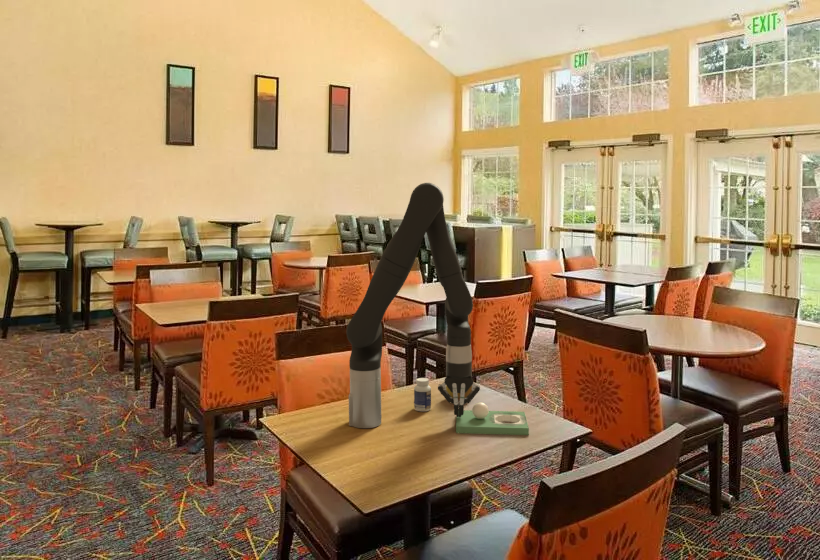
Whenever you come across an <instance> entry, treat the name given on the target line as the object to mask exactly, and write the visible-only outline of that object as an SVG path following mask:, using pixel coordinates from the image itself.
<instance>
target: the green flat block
mask: <svg viewBox="0 0 820 560" xmlns="http://www.w3.org/2000/svg"><path fill="white" fill-rule="evenodd" d="M455 420H456V421H455V422H456V423H455V433H456V434H472V435H473V434H481V435H510V436H511V435H515V436H518V435H519V436H529V433H530V427H529V425H528V419H527V415H526V412H525V411H514V410H513V411H512V410H510V411H508V410H507V411H506V410H505V411H504V410H489V412H488V415H487V416H486V417H485V418H483V419H478V418H476V417H475V416H474V415H473V413H472V409H471V410H469V409H468V410H466V409H464V414H463V415H461V417H456V419H455ZM505 422H508V423H505ZM509 422H511V423H509Z"/></svg>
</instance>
